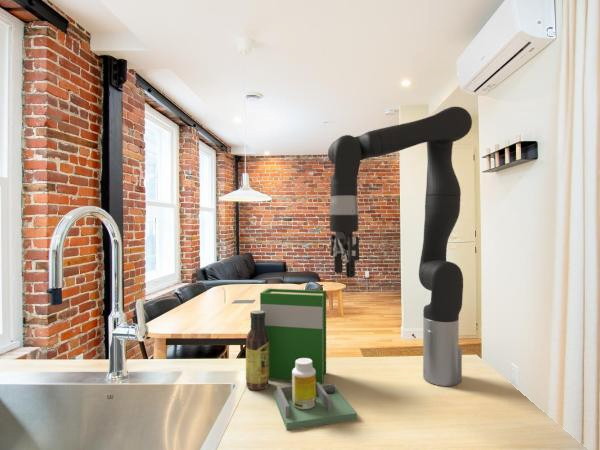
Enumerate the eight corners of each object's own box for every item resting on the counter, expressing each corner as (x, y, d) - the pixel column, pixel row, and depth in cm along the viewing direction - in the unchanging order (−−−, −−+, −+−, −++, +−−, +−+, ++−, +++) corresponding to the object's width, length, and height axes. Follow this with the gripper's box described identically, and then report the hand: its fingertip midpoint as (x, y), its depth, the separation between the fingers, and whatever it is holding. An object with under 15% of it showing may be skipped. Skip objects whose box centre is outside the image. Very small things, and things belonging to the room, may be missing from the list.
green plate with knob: (333, 389, 97) (333, 374, 97) (356, 419, 82) (356, 401, 82) (273, 397, 93) (273, 381, 93) (286, 430, 78) (286, 411, 78)
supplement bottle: (320, 407, 85) (319, 363, 85) (298, 412, 82) (297, 367, 82) (309, 397, 90) (309, 355, 90) (288, 401, 87) (288, 358, 87)
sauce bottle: (265, 392, 96) (265, 315, 95) (242, 390, 97) (242, 314, 97) (272, 381, 102) (272, 309, 102) (250, 379, 103) (250, 308, 103)
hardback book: (326, 372, 108) (326, 290, 107) (322, 383, 101) (322, 295, 100) (268, 367, 111) (268, 288, 111) (260, 378, 104) (260, 293, 104)
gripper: (368, 213, 92) (368, 278, 92) (347, 214, 105) (347, 270, 106) (340, 213, 90) (340, 279, 90) (322, 214, 103) (322, 271, 104)
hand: (344, 274), depth 98 cm, fingers open, 8 cm apart
